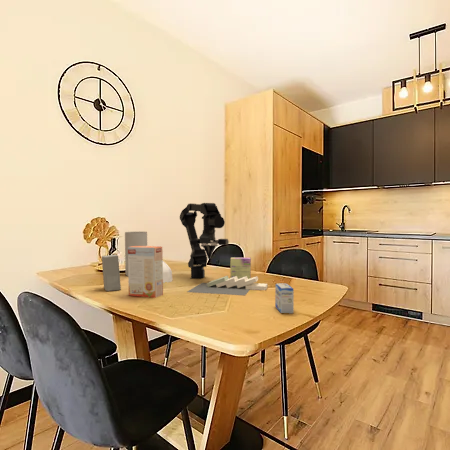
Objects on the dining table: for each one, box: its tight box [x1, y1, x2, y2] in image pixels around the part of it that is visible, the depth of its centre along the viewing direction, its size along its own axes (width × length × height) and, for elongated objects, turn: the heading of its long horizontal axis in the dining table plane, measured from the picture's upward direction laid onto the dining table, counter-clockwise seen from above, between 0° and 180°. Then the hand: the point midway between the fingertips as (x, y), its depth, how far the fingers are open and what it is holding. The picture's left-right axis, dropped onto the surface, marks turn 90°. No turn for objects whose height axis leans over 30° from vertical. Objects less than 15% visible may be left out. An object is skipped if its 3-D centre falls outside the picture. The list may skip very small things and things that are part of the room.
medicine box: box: [274, 282, 295, 314], centre depth 106 cm, size 8×4×9 cm, turn 5°
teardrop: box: [163, 260, 173, 284], centre depth 159 cm, size 11×11×12 cm
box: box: [229, 257, 252, 279], centre depth 158 cm, size 10×6×12 cm, turn 84°
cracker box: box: [127, 245, 164, 299], centre depth 128 cm, size 14×6×21 cm, turn 65°
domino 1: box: [206, 275, 230, 287], centre depth 143 cm, size 2×6×9 cm
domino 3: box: [226, 276, 248, 288], centre depth 140 cm, size 2×6×9 cm
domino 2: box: [216, 276, 238, 288], centre depth 142 cm, size 2×6×9 cm
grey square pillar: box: [124, 231, 148, 277], centre depth 178 cm, size 12×12×25 cm
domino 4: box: [237, 275, 259, 288], centre depth 139 cm, size 2×6×9 cm
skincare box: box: [101, 254, 122, 292], centre depth 141 cm, size 8×7×16 cm
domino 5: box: [246, 282, 268, 291], centre depth 138 cm, size 2×6×9 cm
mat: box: [186, 282, 251, 296], centre depth 138 cm, size 26×20×1 cm
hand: (209, 258), depth 153 cm, fingers closed
